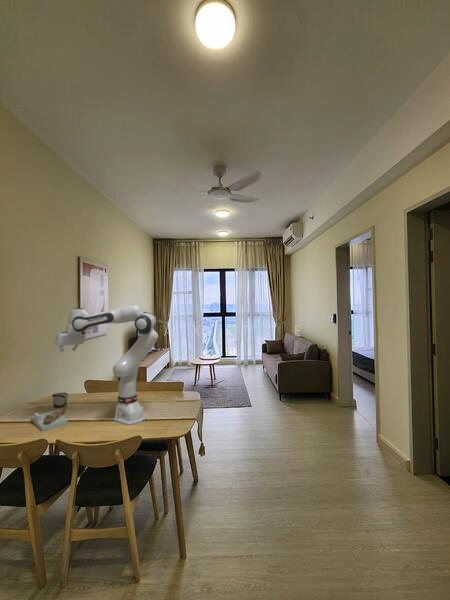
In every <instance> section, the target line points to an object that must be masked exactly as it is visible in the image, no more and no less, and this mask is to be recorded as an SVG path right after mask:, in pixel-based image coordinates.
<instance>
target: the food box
mask: <svg viewBox="0 0 450 600" xmlns="http://www.w3.org/2000/svg"><path fill="white" fill-rule="evenodd" d="M56 410H57V409H55V410H51V411H47V412H44V413H38V412H35V413H34V414H33V415H32V416H31V421H32V422H33V423H34V424H35V425H36V426H37V428H38V429H39V430H40V431H41V432H44V431H49V430H51V429H54V428H58V427H62V426H65V425H68V424H69V423H68V421H69V420H68V418H66V417H64V416H63V415H62V416H60V417H59V418H57V419H56V420H55V421H53V422H52V423H50V424H44V418H45V417H46V416H47V415H50V414H51V413H53V412H54V411H56Z"/></svg>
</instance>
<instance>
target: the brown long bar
mask: <svg viewBox="0 0 450 600" xmlns="http://www.w3.org/2000/svg"><path fill="white" fill-rule="evenodd" d="M55 410H56V411H55ZM55 410H53V411H54V412H53V413H51V414H50V415H47V416H46V417H45V418H44V424H50V423H52V422H53V421H55V420H56V419H57V418H59V417H60V416H63V415H64V414H66V409H65V408H59V409H57V408H56V409H55Z"/></svg>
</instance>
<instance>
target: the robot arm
mask: <svg viewBox="0 0 450 600" xmlns="http://www.w3.org/2000/svg"><path fill="white" fill-rule="evenodd" d="M67 319H68V320H67V324H66V327H65V330H64V331H63V330H62V331H59V332H58V333H57V335H56V338H55V339H54V345H55V346H59V349H60V350H59V352H60V353H64V350H65V349H64V346H74V347H72V348H71V350H72V351H77V348H78V347H79V345H83V344H84V343H85V340H86V334H87V331H90V330H93V329H95V328H96V327H97V326H98V325H105V324H106V325H107V324H108V325H109V324H125V323H130V322H134V327H135V328H136V330H137V331H138V333H140V336H139V337H138V338H137V340H136V341H135V342H134V343H133V345H132V346H131V347H130V348H129V349H128V350H127V351H126V352H125V353H124V354H123V355H122V357H120V359H119V360H118V361H117V362H116V363H115V364H114V365H113V367H112V373H113V375H114V376H115V377H117V378H120V380H119V382H118V385H117V386H118V395H117V405H116V406H115V416H114V418H113V421H114V422H115V421H116V422H118V423H121V424H124V425H128V426H129V425H136V424H139V423H142V422H144V421H146V420H147V419H148V417H147V415H145V414H144V406H141V404H140V403H139V401H138V399H139V397H138V395H137V377H138V372H139V368H140V365H141V361H143V360H144V359H145V357H146V356H147V355H148V354H149V353H150V351H151V350H152V349H153V348H154V346H155V345H156V342H157V341H158V339H159V333H158V332H157V331H156V330H155V327H156V325H157V323H158V320H157V319H158V318H157V316H156V315H154V314H153V313H150V312H148V311H143V310H142V307H141V306H140V305H139V304H128V305H122V306H119V307H116V308H114V309H112V310H109V311H106V312H104V313H101V314H96V315H92V314H91V313H88V312H87V311H86V309H85V308H82V307H73V308H72V309H70V312H69V315H68V318H67ZM146 418H147V419H146ZM145 419H146V420H145ZM143 420H144V421H143Z"/></svg>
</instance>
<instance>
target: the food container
mask: <svg viewBox="0 0 450 600" xmlns="http://www.w3.org/2000/svg"><path fill="white" fill-rule="evenodd" d="M51 398H52V405H53V409H56V410H57V409H59V408H65V410H67V405H68V398H69V394H68V393H67V392H57V393H56V392H55V393H52V395H51Z"/></svg>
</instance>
